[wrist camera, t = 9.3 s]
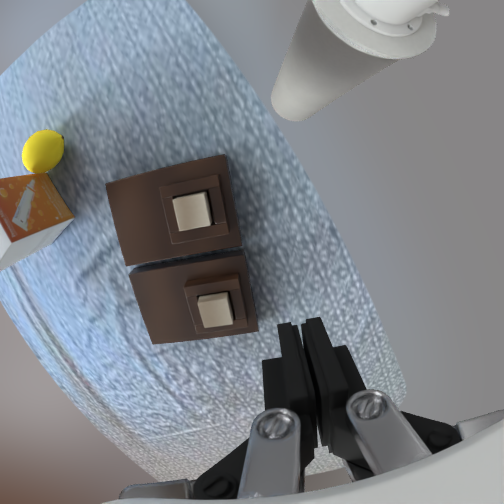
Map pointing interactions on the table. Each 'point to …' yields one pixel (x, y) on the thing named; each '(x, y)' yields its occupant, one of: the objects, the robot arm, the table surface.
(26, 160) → the lemon
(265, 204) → the table surface
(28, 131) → the table surface
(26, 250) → the small box
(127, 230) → the keys low
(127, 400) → the table surface
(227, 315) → the key
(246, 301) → the keys high
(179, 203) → the key
